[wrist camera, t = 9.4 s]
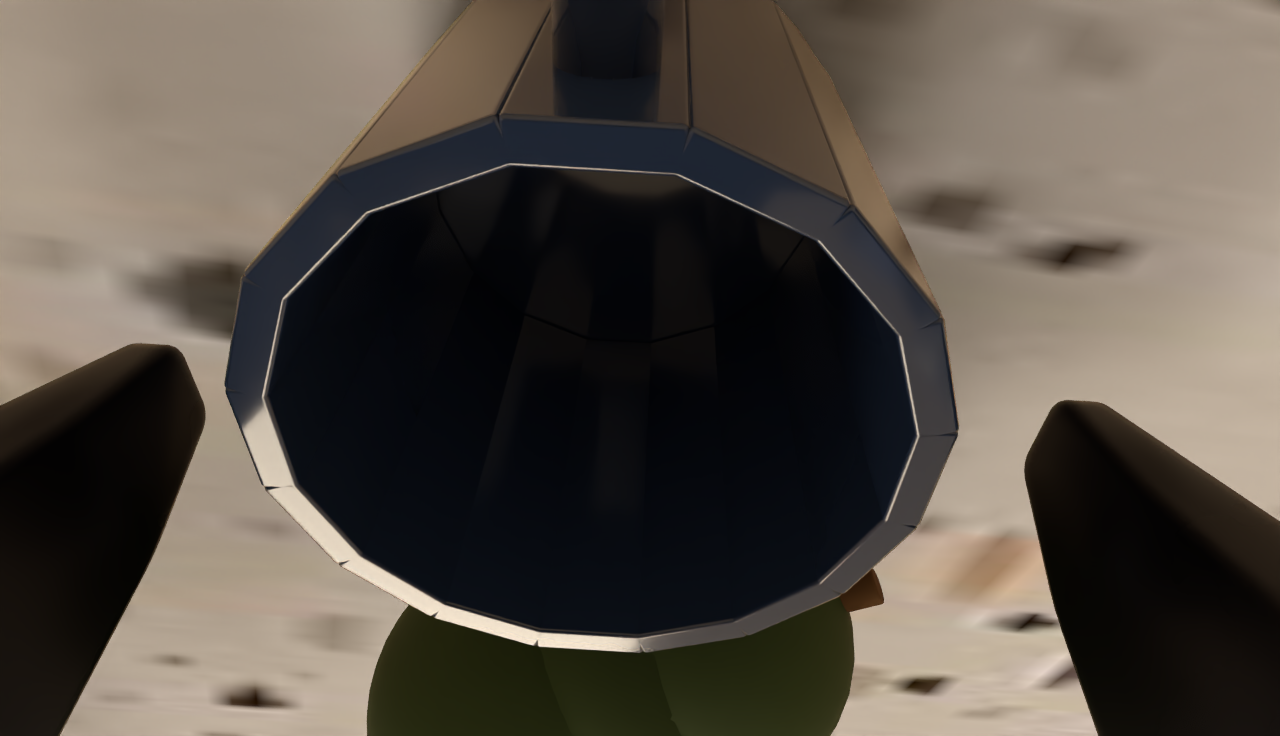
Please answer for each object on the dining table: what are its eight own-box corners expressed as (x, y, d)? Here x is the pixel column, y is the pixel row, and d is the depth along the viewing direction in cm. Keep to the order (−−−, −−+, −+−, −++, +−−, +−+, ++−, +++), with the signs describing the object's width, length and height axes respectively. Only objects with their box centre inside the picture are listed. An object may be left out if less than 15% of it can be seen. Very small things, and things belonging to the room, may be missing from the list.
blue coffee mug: (796, 351, 15) (859, 667, 10) (443, 330, 15) (319, 635, 10) (947, -329, 9) (1341, -450, 3) (342, -364, 9) (-143, -535, 3)
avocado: (513, 664, 22) (461, 949, 17) (359, 527, 18) (232, 838, 13) (896, 567, 19) (982, 890, 13) (800, 373, 15) (867, 713, 10)
